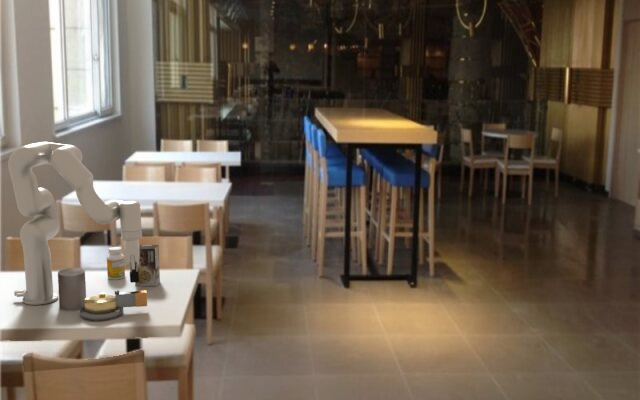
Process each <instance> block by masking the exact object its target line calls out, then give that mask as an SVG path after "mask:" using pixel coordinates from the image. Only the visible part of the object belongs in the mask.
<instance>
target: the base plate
mask: <svg viewBox="0 0 640 400" xmlns="http://www.w3.org/2000/svg"><path fill="white" fill-rule="evenodd" d="M79 315H80V319H81V320H84V321H87V322H96V323H97V322H107V321H113V320H115V319H116V320H117V319H118V318H120V317H122V316H123V315H124V307H122V308H118V309H117V310H115V311H113V312H109V313H104V314H91V313H87V312H85V310H84V307H83V308H82V309H79Z"/></svg>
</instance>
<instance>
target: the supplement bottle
mask: <svg viewBox="0 0 640 400" xmlns="http://www.w3.org/2000/svg"><path fill="white" fill-rule="evenodd" d="M122 252H123V249H122V247H121V246H112V247H109V248H108V253H109V254H108V255H107V256H106V269H107V270H106V271H107V278H108V279H109V280H113V281H114V280H121V279H124V278H126V268H125V267H126V265H125V254H123V253H122Z"/></svg>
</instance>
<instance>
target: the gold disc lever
mask: <svg viewBox="0 0 640 400" xmlns="http://www.w3.org/2000/svg"><path fill="white" fill-rule="evenodd" d="M147 293H148V292H147V290H135V291H121V292H120V290H114V295H111V294H110V295H109V294H106V292H99V294H98V295H94V296H90V297H86V298H85V301H84V310H85V312H87V313H91V314H104V313H109V312H113V311H115V310H117V309H118V308H122V307H123V308H134V307H135V308H141V307H148V294H147Z"/></svg>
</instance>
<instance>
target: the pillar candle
mask: <svg viewBox="0 0 640 400" xmlns="http://www.w3.org/2000/svg"><path fill="white" fill-rule="evenodd" d="M57 282H58V283H57V285H58V304H59V309H60V310H62V311H70V312H71V311H78V310H79V311H80V310H81V309H82V308H83V307H84V301H85V298H87V289H86V288H87V285H86V270H85V269H84V268H82V267H81V268H80V267H68V268H63V269H60V270H59V271H58V272H57Z"/></svg>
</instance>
